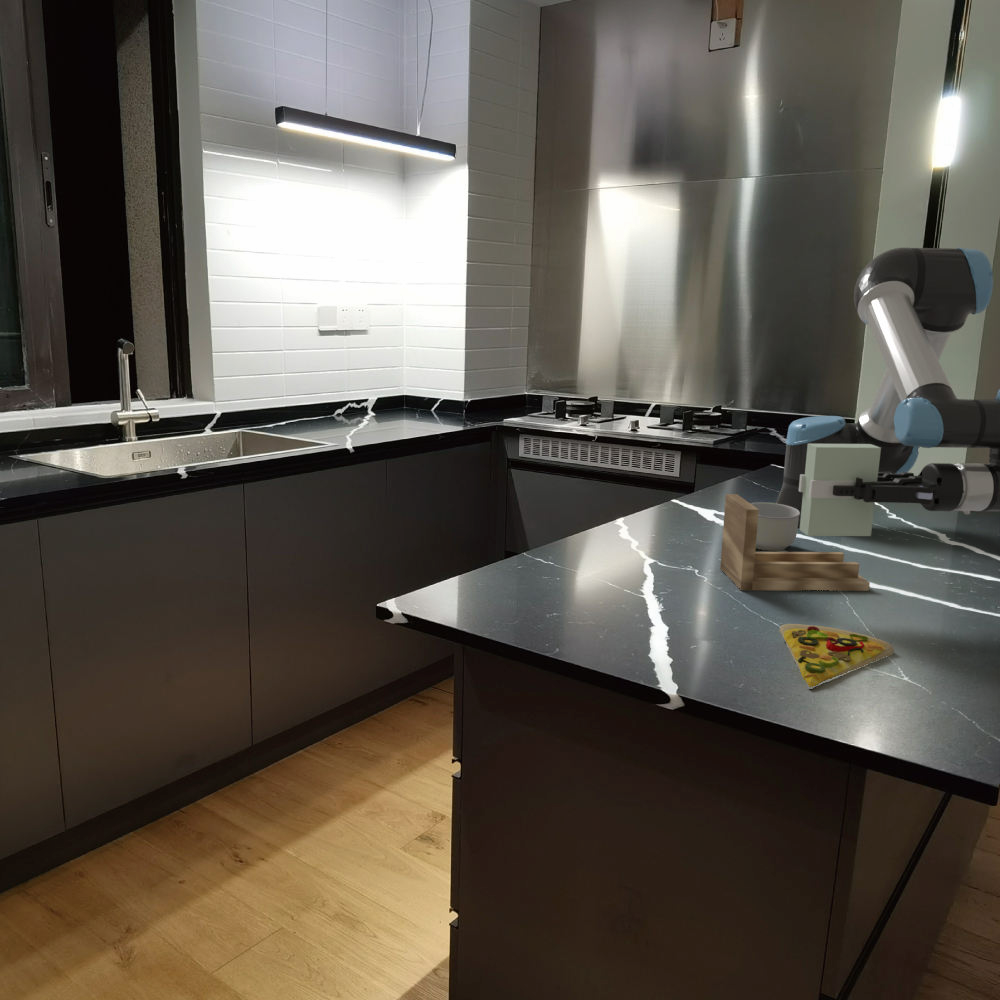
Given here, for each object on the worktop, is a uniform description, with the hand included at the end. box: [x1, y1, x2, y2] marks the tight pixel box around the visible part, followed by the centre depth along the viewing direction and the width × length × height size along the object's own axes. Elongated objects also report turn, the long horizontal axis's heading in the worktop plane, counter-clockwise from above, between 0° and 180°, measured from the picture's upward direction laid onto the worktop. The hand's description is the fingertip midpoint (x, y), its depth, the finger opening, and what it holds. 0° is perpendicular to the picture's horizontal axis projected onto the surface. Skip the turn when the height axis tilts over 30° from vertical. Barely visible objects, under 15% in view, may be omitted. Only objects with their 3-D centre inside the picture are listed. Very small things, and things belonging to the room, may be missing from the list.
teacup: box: [750, 502, 800, 552], centre depth 172 cm, size 14×11×8 cm
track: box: [719, 493, 870, 592], centre depth 150 cm, size 22×12×14 cm, turn 92°
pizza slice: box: [778, 623, 895, 687], centre depth 116 cm, size 16×21×3 cm
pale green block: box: [799, 444, 881, 537], centre depth 135 cm, size 10×4×14 cm, turn 92°
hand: (805, 486), depth 135 cm, fingers closed on pale green block, 3 cm apart
